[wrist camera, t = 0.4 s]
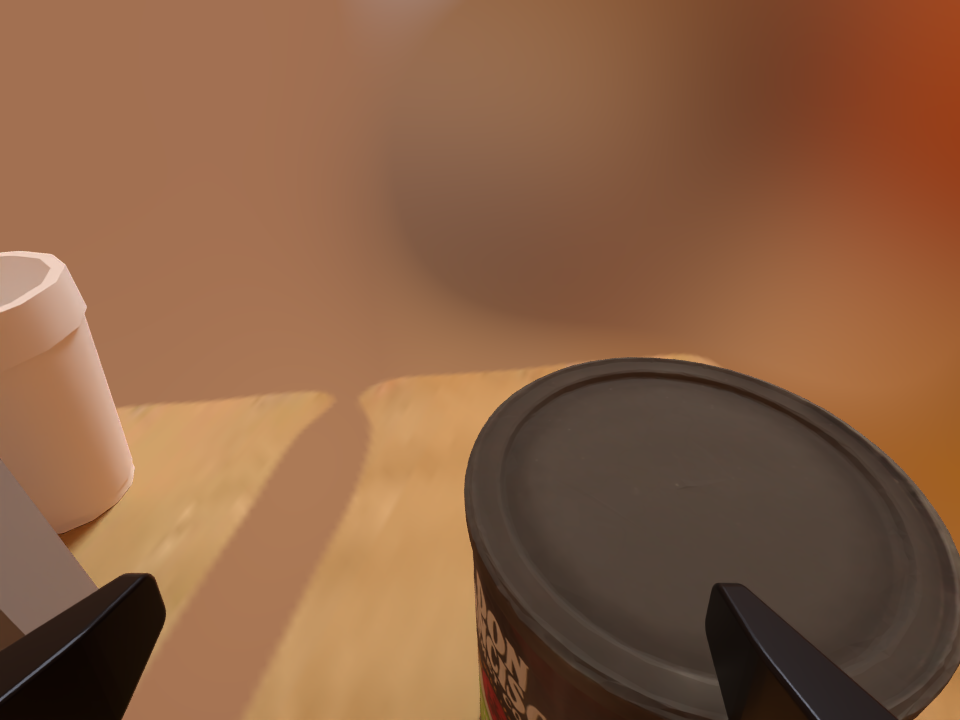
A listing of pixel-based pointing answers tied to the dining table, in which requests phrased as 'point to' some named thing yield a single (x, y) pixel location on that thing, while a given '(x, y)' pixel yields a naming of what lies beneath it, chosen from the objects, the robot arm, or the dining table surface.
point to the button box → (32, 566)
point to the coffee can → (692, 543)
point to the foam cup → (56, 396)
